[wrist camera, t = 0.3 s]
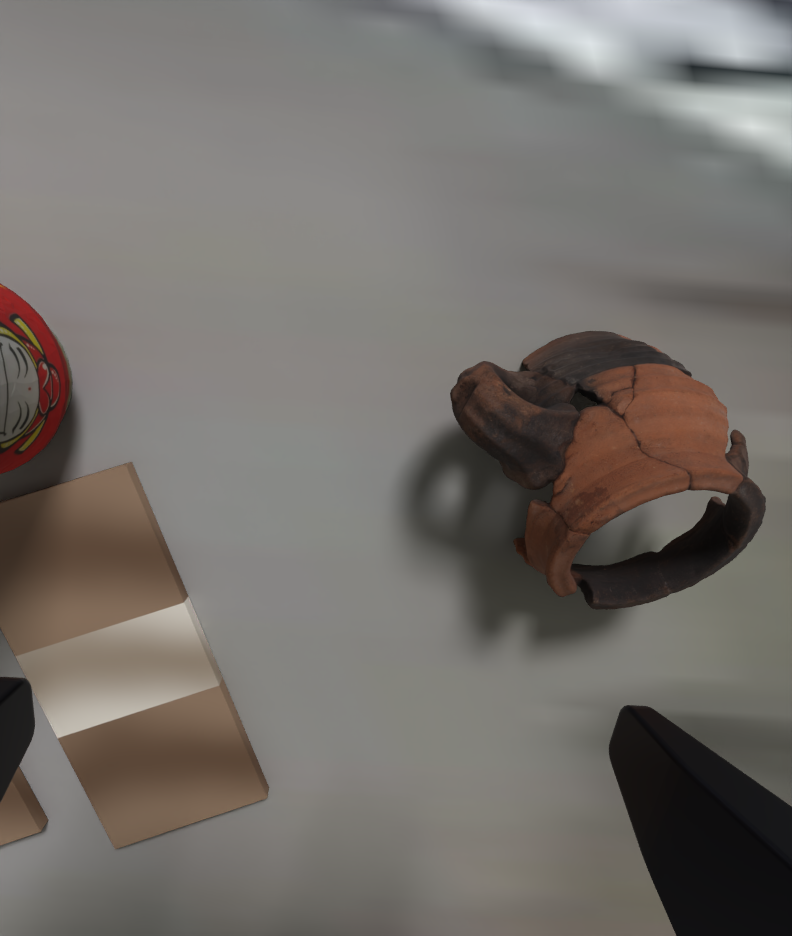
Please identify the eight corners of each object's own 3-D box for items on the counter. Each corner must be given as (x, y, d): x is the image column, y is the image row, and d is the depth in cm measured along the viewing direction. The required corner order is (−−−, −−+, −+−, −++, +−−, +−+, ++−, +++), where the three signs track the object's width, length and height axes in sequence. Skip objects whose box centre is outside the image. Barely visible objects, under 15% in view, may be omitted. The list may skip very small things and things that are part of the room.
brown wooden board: (268, 787, 24) (267, 798, 23) (120, 837, 24) (115, 849, 23) (131, 461, 21) (125, 464, 20) (-44, 515, 20) (-56, 520, 20)
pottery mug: (707, 357, 23) (858, 489, 17) (568, 502, 28) (645, 642, 22) (484, 236, 18) (583, 361, 12) (365, 439, 23) (392, 598, 17)
